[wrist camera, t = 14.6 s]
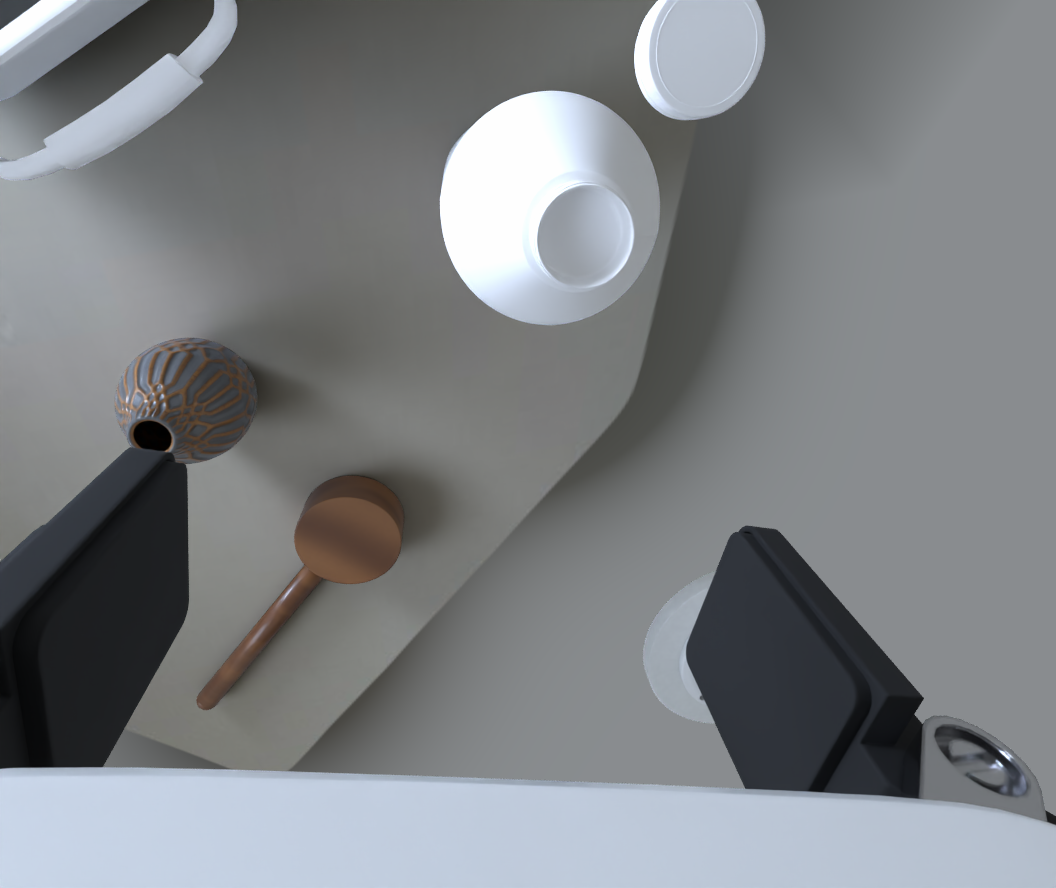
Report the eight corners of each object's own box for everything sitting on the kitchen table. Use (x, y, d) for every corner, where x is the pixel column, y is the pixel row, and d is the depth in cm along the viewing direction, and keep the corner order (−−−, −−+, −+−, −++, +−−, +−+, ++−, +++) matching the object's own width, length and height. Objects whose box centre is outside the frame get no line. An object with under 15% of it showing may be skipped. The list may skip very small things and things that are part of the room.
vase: (287, 362, 39) (247, 416, 31) (242, 447, 41) (193, 518, 33) (177, 303, 37) (103, 345, 29) (134, 396, 39) (54, 459, 31)
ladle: (339, 457, 42) (332, 478, 40) (423, 509, 45) (422, 532, 42) (164, 679, 49) (147, 710, 46) (246, 714, 51) (235, 745, 48)
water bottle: (517, 262, 38) (619, 424, 16) (422, 202, 36) (383, 290, 14) (598, 127, 35) (860, 90, 13) (500, 54, 33) (612, -141, 11)
